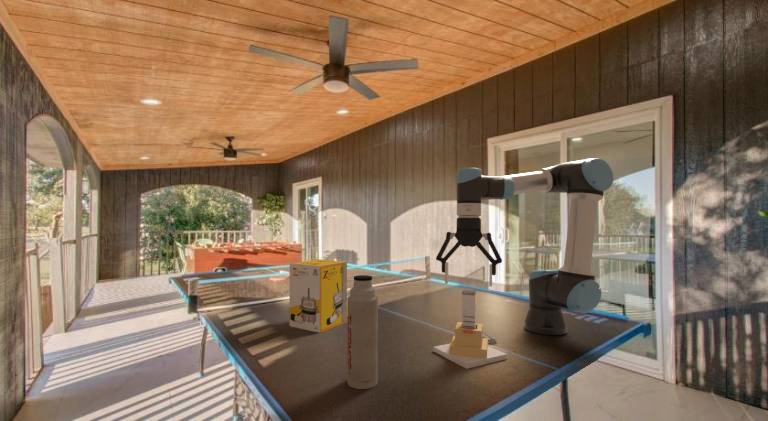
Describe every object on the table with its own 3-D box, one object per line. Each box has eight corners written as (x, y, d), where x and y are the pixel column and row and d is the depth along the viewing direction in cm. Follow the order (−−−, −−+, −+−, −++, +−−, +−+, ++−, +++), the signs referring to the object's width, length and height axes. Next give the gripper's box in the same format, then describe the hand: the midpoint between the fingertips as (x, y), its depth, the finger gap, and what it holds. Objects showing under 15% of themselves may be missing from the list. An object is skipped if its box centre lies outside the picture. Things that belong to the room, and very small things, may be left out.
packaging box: (346, 322, 156) (347, 261, 157) (320, 333, 143) (320, 266, 143) (317, 317, 165) (317, 259, 165) (289, 326, 151) (289, 263, 152)
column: (476, 345, 122) (476, 290, 122) (475, 350, 117) (475, 293, 118) (463, 344, 123) (463, 289, 123) (461, 348, 119) (461, 292, 119)
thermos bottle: (347, 389, 96) (347, 278, 96) (347, 376, 104) (347, 273, 104) (378, 388, 97) (378, 278, 97) (376, 375, 105) (376, 273, 105)
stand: (506, 346, 128) (506, 319, 128) (507, 373, 106) (507, 341, 106) (438, 340, 134) (438, 314, 134) (427, 364, 113) (427, 333, 113)
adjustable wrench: (498, 345, 131) (498, 340, 131) (480, 346, 130) (480, 341, 130) (470, 324, 155) (470, 320, 155) (455, 325, 154) (455, 320, 154)
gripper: (427, 216, 121) (427, 283, 120) (510, 217, 113) (510, 288, 113) (431, 216, 128) (431, 280, 127) (509, 217, 121) (509, 284, 120)
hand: (468, 284), depth 120 cm, fingers open, 13 cm apart
